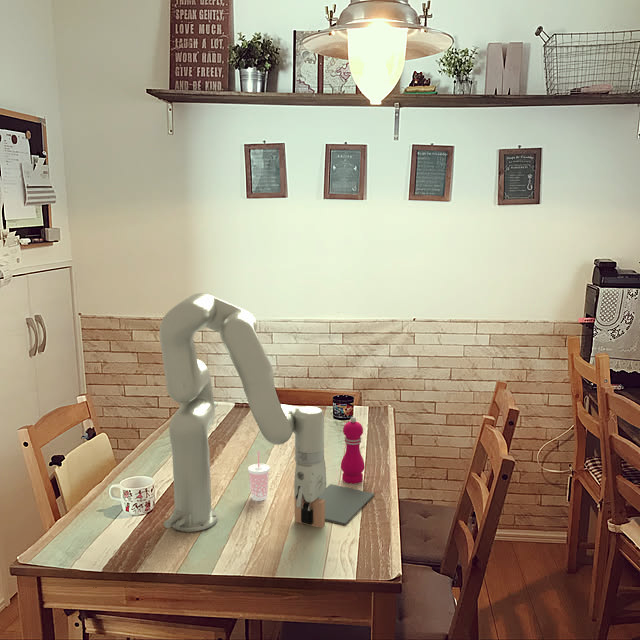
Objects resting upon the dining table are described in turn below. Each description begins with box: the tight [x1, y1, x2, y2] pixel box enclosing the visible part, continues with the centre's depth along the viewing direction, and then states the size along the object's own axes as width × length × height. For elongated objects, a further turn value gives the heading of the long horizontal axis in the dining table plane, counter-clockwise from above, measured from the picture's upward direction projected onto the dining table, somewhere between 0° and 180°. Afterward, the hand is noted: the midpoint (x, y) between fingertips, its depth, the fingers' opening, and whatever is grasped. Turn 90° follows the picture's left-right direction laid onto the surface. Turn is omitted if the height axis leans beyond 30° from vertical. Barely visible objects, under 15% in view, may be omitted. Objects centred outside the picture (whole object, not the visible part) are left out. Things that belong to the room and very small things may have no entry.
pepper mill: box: [340, 416, 365, 485], centre depth 200 cm, size 7×7×20 cm
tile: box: [293, 496, 326, 529], centre depth 174 cm, size 2×8×7 cm, turn 63°
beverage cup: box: [247, 450, 270, 502], centre depth 188 cm, size 6×6×14 cm
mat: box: [319, 483, 375, 526], centre depth 185 cm, size 20×14×1 cm
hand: (309, 520), depth 174 cm, fingers closed
